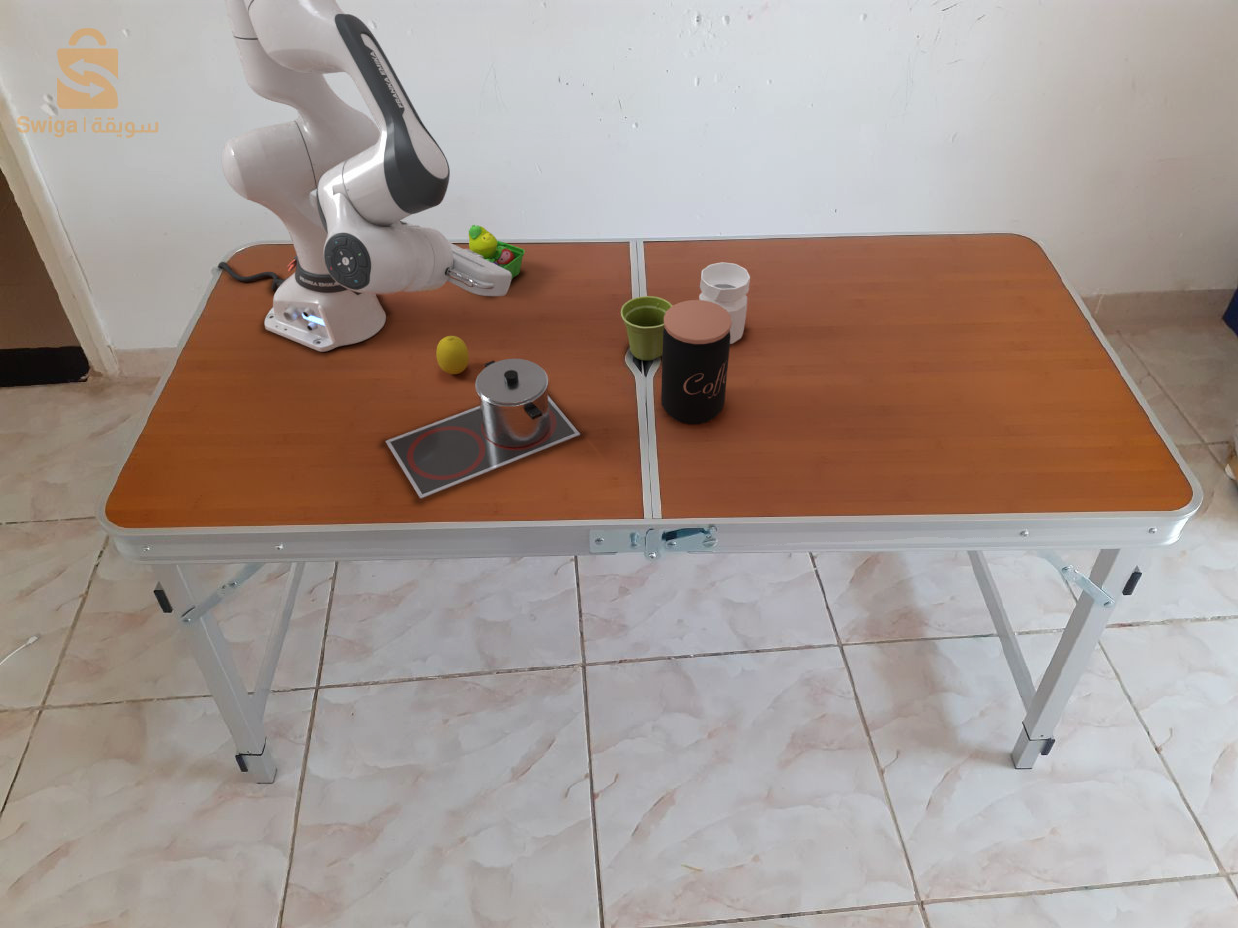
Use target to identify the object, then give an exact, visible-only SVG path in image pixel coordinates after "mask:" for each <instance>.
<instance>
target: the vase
mask: <svg viewBox="0 0 1238 928" xmlns="http://www.w3.org/2000/svg"><path fill="white" fill-rule="evenodd" d="M700 276H701V277H700V282H699V289H700V291H701V292H700V294H699V296H698V297H699V298H698V300H703V301H709V302H712V303H715V304H718V305H720V306H721V307H723V308H724V309H726V310H727V312H728V313H729V314H730V316H731V322H732V324H731V328H730V336H731V337H730V345H732V344H734V343H736V342H737V341H739V340H740V339H742V337H743V334H744V330H745V324H746V319H747V318H746V317H747V309H748V296H747V294H748V293H749V290H750V284H751V283H750V281H751V276H750V274H749V272H748V270H747V268H744V267H743V266H741V265H739V264H737V263H732V262H725V261H724V262H722V261H721V262H717V263H712V264H709V265H707V266H706V267H705V268H703V269H702V270H701V275H700Z"/></svg>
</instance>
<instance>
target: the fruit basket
mask: <svg viewBox="0 0 1238 928" xmlns="http://www.w3.org/2000/svg"><path fill="white" fill-rule="evenodd" d="M468 247H469V248H468V249H469V250H471V251H473V252H475V253H477V254H479V255H481V256H483V259H485V260H487V261H489V262H491V263H493V264H495V265H497V266H500V267H502V268H504V269H506V270H508V271H510V273H511V275H512V279H511V281H512V280H513V278H516V276H518V275H520V271H521V268H522V267H521V266H522V262H523V258H524V255H525V252H526V251H525V249H523V248H521V247H519V246H515V245H512V244H509V243H506V242H504V241H500V240H497V238H496V237H495V235H494V234H493V233H491V232H490V231H488V230H487V229H486V228H485V227H484V226H482V225H475V224H472V225H471V227H470V228H469V229H468Z"/></svg>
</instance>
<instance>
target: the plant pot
mask: <svg viewBox="0 0 1238 928" xmlns="http://www.w3.org/2000/svg"><path fill="white" fill-rule="evenodd" d="M672 306H673V304H671V302H670V301H668V300H666V299H664V298H662V297H659V296H653V295H643V296H637V297H634V298H631V299H629V300H628V301H626V302H625V303H624V304H623V305H622V306H621V309H620V317H621V319H622V320H623V323H624V325H625V329H626V333H627V339H628V345H629V351H630V354H632V355H633V357H634V358H636V359H637V360H640V361H653V360H655V359H656V358H660V357H662V354H663V330H664V316H665V313H666V311H667V310H668V309H669V308H671V307H672Z"/></svg>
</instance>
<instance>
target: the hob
mask: <svg viewBox="0 0 1238 928" xmlns="http://www.w3.org/2000/svg"><path fill="white" fill-rule="evenodd" d="M548 406H549V418H550V426H549V429H548V431H547V433H546V434H545V436H544V437H543V438H541V439H540V440H539V441H537V442H535V443H533V444H531V445H528V446H524V447H504V446H500V445H498V444H495V443H494V442H492V441H491V440H489V439H488V438H487V436H486V435H485V433H484V430H483V423H482V416H481V410H480V405H478V406H475V407H472V408H470V409H467V410H465V411H462V412H460V413H457V414H454V415H451V416H448V417H446V418H444V419H441V420H437V421H435V422H433V423H430V424H427V425H425V426H421V427H419V428H416V429H414V430H411V431H408V432H405V433H404V434H400V435H398V436H395V437H392V438H389V439H387V440H385V443H386V445H387V447H388V448H389V450H390V452H391V453H392V455H393V456H394V458H395V459H396V461H397V463H398V464H399V466H400V468H401V470H402V472H403V473H404V474H405V476H406V478H407V479H408V481H409V482H410V484H411V486H412V487H413V490H415V492H416V495H417V496H418V497H419V499H420V500H422V499H425V498H426V497H429V496H432V495H434V494H437V493H439V492H441V491H444V490H446V489H449V488H451V487H454V486H456V485H459V484H462V483H464V482H467V481H469V480H471V479H474V478H477V477H479V476H481V475H483V474H487V473H489V472H491V471H494V470H496V469H499V468H502V467H504V466H507V465H509V464H511V463H514V462H516V461H518V460H521V459H523V458H526V457H529V456H531V455H533V454H536V453H539V452H541V451H544V450H546V449H549V448H551V447H553V446H556V445H558V444H559V445H560V444H561V443H564V442H566V441H569V440H571V439H573V438H576V437H579V436H581V432H579V431H578V429H576V427H575V425H573V423H572V422H571V421H570V419H568V418H567V417H566V415H565V414H564V413H563V412H562V410H561V409H560V408H559V407H558V405H557V404H556V403H555V402H554V401H553V399H552V398H551V397H550V396H549V395H548Z"/></svg>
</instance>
